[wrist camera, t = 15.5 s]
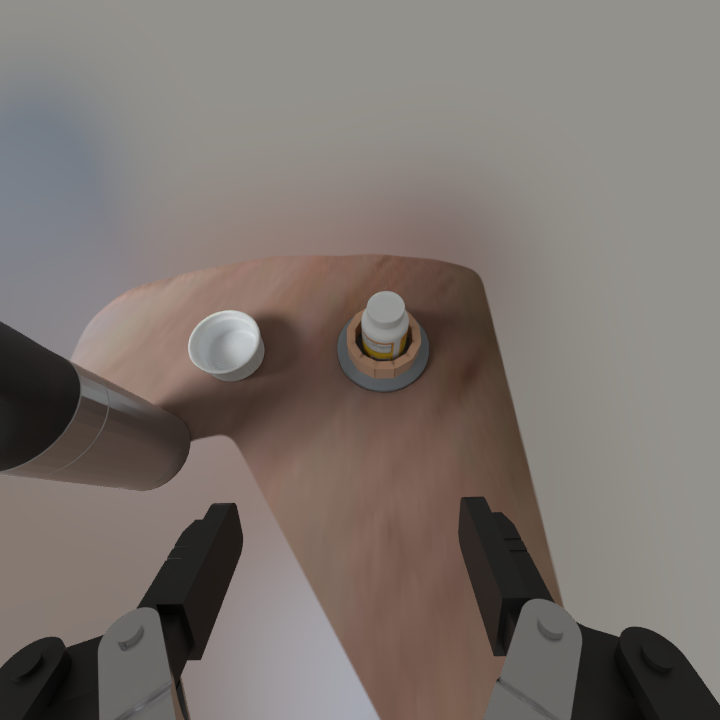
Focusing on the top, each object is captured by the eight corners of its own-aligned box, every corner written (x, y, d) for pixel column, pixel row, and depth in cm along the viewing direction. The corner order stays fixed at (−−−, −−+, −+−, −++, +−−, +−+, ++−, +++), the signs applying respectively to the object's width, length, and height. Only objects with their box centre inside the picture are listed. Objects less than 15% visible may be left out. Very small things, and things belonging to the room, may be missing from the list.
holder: (320, 366, 45) (316, 353, 42) (365, 299, 49) (364, 281, 46) (403, 409, 42) (405, 398, 39) (442, 333, 47) (448, 318, 43)
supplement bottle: (390, 323, 46) (394, 277, 38) (412, 354, 44) (421, 313, 36) (355, 341, 45) (351, 298, 37) (376, 373, 43) (376, 337, 35)
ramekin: (271, 325, 48) (262, 308, 44) (266, 384, 45) (255, 371, 41) (209, 327, 48) (194, 311, 45) (198, 387, 45) (181, 374, 41)
